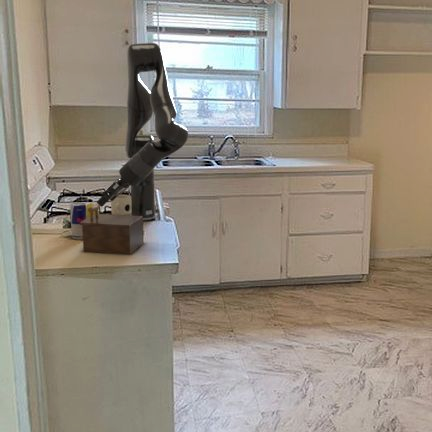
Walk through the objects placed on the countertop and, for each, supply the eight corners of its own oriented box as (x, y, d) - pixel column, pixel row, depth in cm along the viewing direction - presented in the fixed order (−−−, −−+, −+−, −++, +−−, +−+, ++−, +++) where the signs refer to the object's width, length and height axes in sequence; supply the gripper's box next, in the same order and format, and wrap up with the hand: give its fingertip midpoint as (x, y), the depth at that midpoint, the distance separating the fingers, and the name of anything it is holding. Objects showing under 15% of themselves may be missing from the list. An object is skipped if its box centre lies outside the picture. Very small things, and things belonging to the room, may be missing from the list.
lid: (79, 225, 183) (78, 209, 182) (96, 215, 195) (95, 201, 194) (129, 227, 182) (128, 212, 181) (142, 218, 194) (142, 203, 193)
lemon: (96, 225, 217) (95, 205, 215) (82, 225, 217) (81, 204, 215) (101, 222, 222) (100, 202, 220) (87, 221, 222) (86, 201, 220)
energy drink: (82, 240, 198) (81, 206, 195) (68, 238, 199) (66, 205, 196) (91, 236, 203) (89, 203, 200) (77, 234, 204) (75, 201, 201)
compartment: (83, 251, 185) (82, 225, 183) (99, 240, 197) (98, 216, 195) (130, 254, 184) (129, 227, 182) (143, 243, 196) (142, 218, 194)
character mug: (126, 235, 205) (125, 200, 202) (107, 234, 205) (105, 199, 202) (136, 227, 215) (135, 194, 212) (118, 226, 216) (116, 193, 213)
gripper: (136, 157, 190) (105, 189, 194) (120, 163, 176) (86, 197, 180) (152, 173, 191) (120, 205, 195) (138, 181, 177) (103, 215, 181)
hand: (104, 201), depth 187 cm, fingers open, 8 cm apart
